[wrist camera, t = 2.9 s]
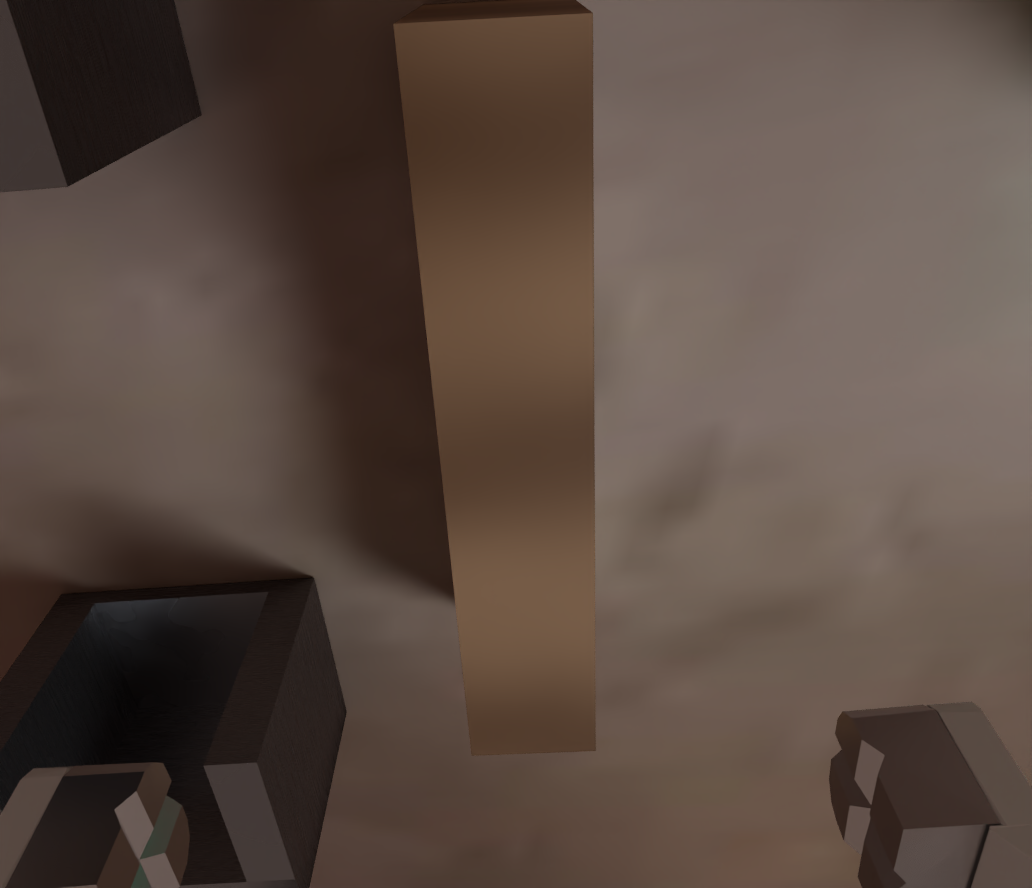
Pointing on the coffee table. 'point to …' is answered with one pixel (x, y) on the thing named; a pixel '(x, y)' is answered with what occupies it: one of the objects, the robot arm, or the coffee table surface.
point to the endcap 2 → (192, 714)
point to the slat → (511, 348)
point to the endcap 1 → (87, 86)
